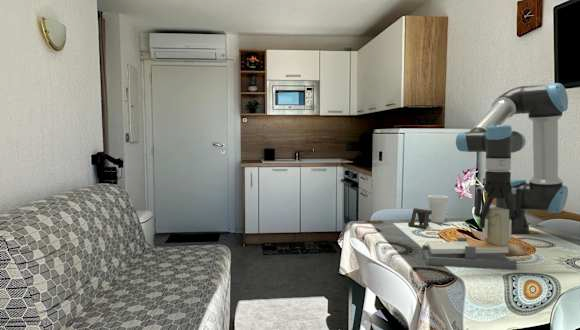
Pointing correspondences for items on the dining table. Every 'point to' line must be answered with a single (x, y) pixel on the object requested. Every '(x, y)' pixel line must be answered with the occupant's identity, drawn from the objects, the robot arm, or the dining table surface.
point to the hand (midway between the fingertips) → (496, 237)
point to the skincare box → (498, 226)
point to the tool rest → (515, 249)
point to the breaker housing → (469, 258)
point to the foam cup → (437, 207)
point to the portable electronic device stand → (420, 218)
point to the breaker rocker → (460, 247)
